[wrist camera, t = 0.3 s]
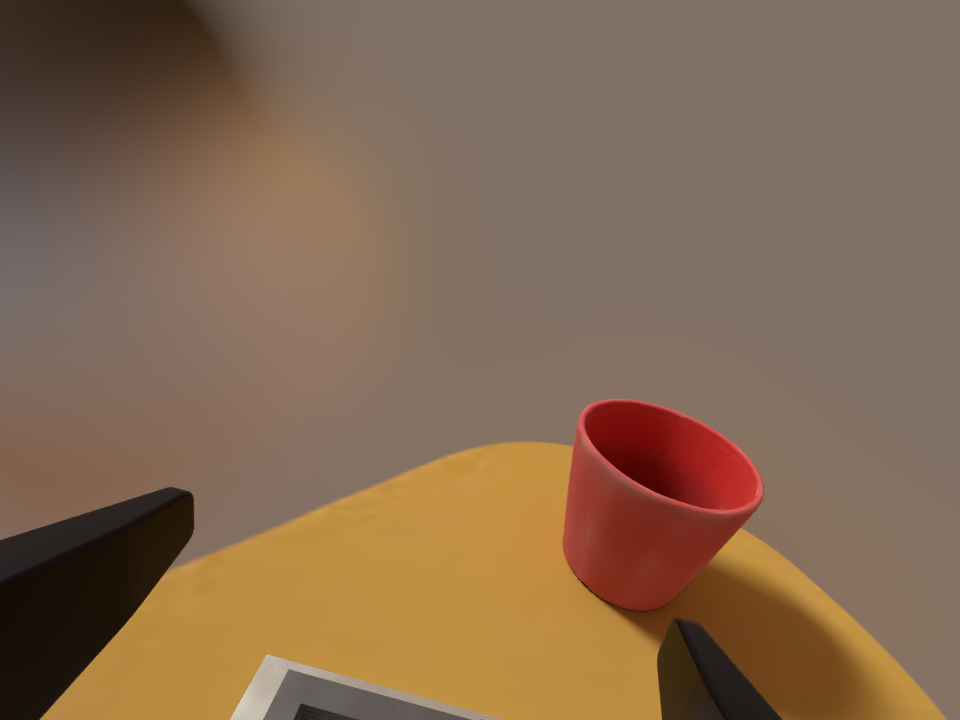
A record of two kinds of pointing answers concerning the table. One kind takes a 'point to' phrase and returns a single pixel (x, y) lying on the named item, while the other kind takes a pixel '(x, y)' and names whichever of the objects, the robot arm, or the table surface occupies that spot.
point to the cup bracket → (333, 698)
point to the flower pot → (651, 500)
